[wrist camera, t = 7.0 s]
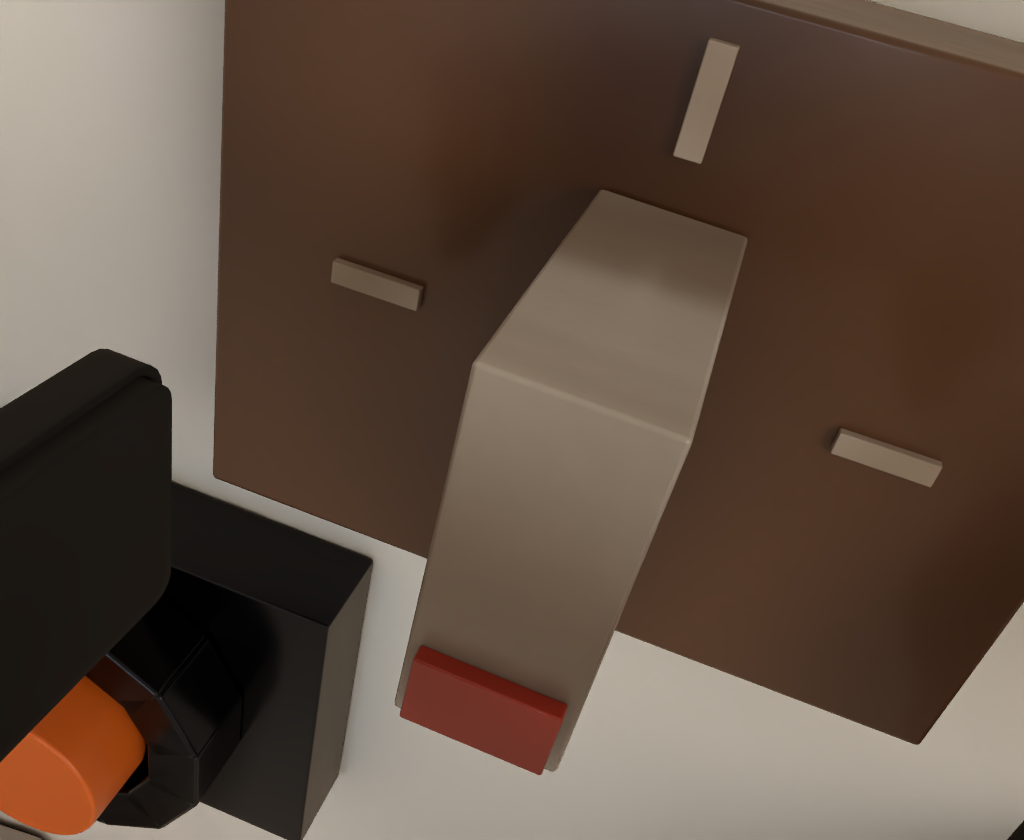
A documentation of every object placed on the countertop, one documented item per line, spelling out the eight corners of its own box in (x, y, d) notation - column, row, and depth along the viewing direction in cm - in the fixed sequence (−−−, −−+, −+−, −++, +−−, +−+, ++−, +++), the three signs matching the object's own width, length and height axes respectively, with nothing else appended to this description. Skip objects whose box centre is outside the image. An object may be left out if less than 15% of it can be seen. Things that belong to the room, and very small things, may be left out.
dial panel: (1265, 108, 12) (1356, 168, 10) (912, 642, 17) (919, 756, 15) (320, -150, 14) (218, -147, 11) (279, 410, 19) (206, 482, 17)
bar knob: (600, 186, 12) (462, 373, 8) (749, 235, 12) (689, 456, 8) (518, 470, 15) (383, 723, 11) (638, 515, 15) (549, 792, 10)
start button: (145, 690, 19) (88, 757, 18) (149, 791, 21) (99, 859, 20) (-5, 627, 20) (-72, 687, 18) (12, 732, 22) (-47, 793, 20)
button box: (374, 558, 21) (283, 694, 17) (339, 774, 25) (262, 913, 22) (-18, 408, 22) (-170, 507, 19) (16, 638, 26) (-102, 749, 23)
